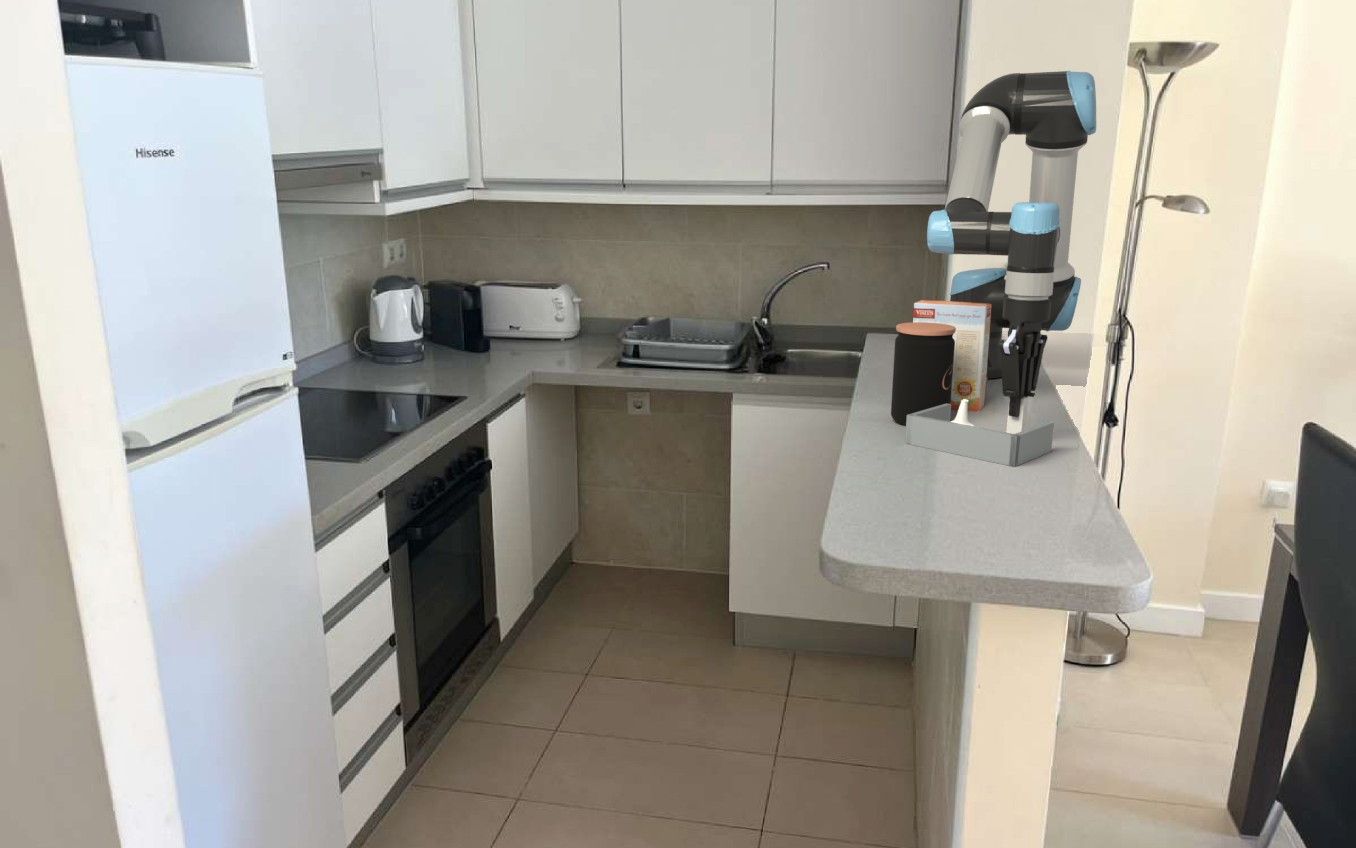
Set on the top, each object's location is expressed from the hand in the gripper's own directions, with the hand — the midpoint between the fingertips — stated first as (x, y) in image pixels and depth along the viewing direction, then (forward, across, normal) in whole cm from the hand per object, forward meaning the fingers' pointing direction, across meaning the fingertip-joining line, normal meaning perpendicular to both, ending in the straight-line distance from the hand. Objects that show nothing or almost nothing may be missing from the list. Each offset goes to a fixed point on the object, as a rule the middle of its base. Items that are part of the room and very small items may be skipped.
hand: (1015, 433), depth 172 cm
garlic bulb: (+2, +8, -6) cm, 10 cm away
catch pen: (+2, +8, -3) cm, 9 cm away
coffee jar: (+2, -1, -19) cm, 20 cm away
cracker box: (+2, -16, -23) cm, 28 cm away
